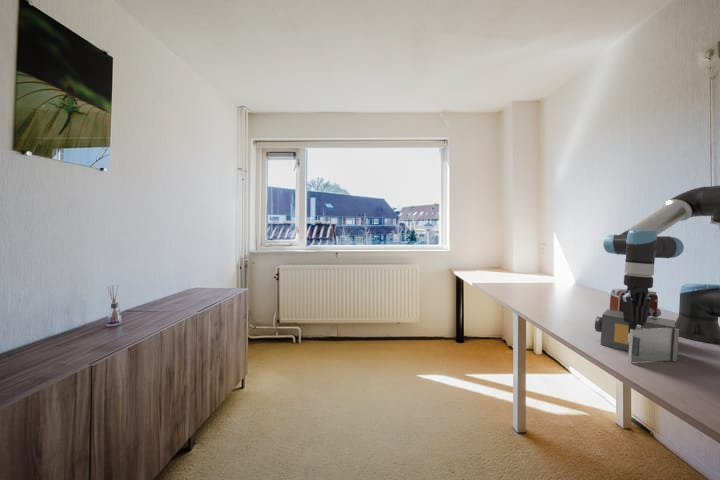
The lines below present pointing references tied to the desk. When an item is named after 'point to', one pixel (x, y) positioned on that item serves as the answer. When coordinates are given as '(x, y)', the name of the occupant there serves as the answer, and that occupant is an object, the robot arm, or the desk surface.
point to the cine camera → (617, 303)
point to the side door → (650, 344)
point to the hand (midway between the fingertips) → (633, 342)
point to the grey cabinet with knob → (617, 329)
